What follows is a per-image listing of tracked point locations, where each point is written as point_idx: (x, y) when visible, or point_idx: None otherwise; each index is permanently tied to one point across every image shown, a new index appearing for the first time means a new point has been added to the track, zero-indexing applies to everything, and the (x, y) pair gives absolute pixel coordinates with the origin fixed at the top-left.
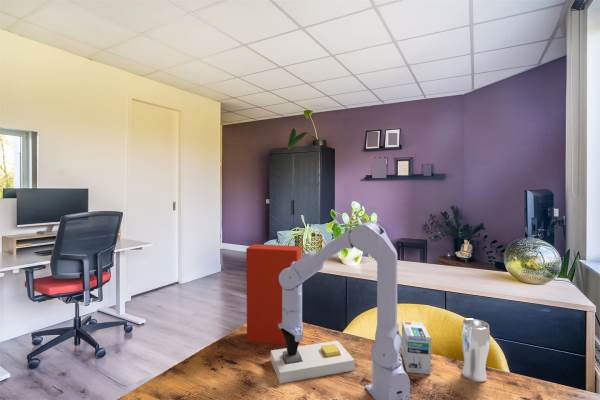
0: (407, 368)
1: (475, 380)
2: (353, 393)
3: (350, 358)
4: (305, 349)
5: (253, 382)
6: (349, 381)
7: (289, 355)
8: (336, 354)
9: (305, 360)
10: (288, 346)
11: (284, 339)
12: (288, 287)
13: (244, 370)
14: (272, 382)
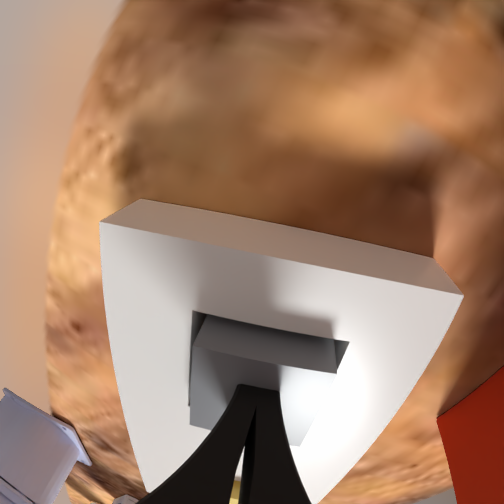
0: (123, 500)
1: (91, 502)
2: (52, 393)
3: None
4: (311, 460)
5: (226, 34)
6: (103, 425)
7: (237, 387)
8: None
9: None
10: (197, 452)
11: (499, 401)
12: None
13: (407, 31)
14: (170, 157)
